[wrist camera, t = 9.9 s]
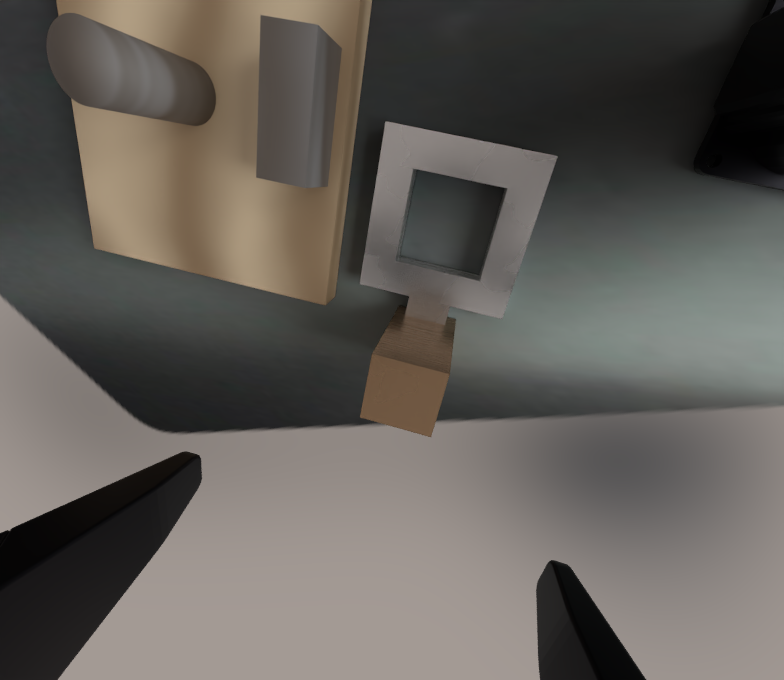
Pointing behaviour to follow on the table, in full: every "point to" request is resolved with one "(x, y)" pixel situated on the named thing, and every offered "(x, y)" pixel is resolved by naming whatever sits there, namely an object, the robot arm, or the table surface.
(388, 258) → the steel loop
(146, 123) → the maple peg board
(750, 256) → the table surface
